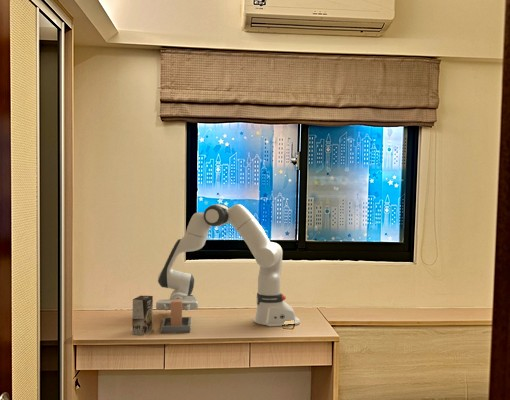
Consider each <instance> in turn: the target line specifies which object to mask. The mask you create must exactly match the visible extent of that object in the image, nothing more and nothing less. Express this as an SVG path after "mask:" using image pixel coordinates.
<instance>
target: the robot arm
mask: <svg viewBox="0 0 510 400" xmlns="http://www.w3.org/2000/svg"><path fill="white" fill-rule="evenodd" d="M228 223H229V224H230V225H231V226H232V227H233V228H234V230H235V231H236V232H237V233H238V234H239V236H240V237H241V239H242V240H243V241H244V242H245V244H246V245H247V247H248V249H249V250H250V253H251V254H252V255H253V257H254V259H255V262H256V263H257V265H258V266H259V270H258V277H257V293H256V312H255V317H254V320H253V322H254V323H255V324H258V325H262V326H267V327H281V326H282V325H283V324H284V322H285V321H289V320H294V321H295V322H294V324H295V325H294V326H296V325H299V324H300V321H301V320H300V319H299V318H298V317H297V316H296V313H295V310H294V308H293V307H292V306H291V305H290V304H289V303H287V302H286V301H285V300H286V298H287V297H286V296H285V294H283V293H281V275H282V266H283V265H282V264H283V254H284V253H283V252H284V251H283V248H282V247H281V245H280V244H279V243H277V242H273V241H271V240H270V239H269V238H268V235H267V234H266V231H265V230H264V228H263V227H262V226H261V224H260V223H259V222H258V220H257V219H256V218H255V217H254V215H253V214H252V213H251V212H250V211H249V210H248V209H247V208H246V207H245V206H243V205H242V204H240V203H238V204H234V205H232V206H231V207H229V206H228V205H226V204H221V203H220V204H219V203H216V204H215V203H214V204H211V205H210V206H207V208H205V210H204V211H203V212H195V213H193V215H192V216H191V218H190V220H189V222H188V223H187V224H188V225H187V227H186V232H185V234H184V235H183V236H182V237H181V238H179V239H177V240H176V242H174V246H173V247H172V248H171V251H170V253H169V255H168V257H167V259H166V261H165V264H164V266H163V267H162V269H161V271H160V272H159V274H158V275H157V276H158V277H157V283H158V285H160V287H161V288H166V289H171V290H173V291H172V292H171V294H170V297H169V299H158V300H157V301H156V303H155V309H156V310H158V311H171V300H175V299H182V311H190V310H194V311H195V310H198V309H199V300H198V298H197V297H196V295H194V294H193V295H192V293H193V290H194V286H195V277H194V276H193V274H191V273H187V272H185V271H180V270H176V269H173V266H174V265H175V262H176V260H177V257H178V256H179V255H180V254H182V253H187V252H195V251H199V250H201V249H203V247H204V246H205V245H206V241H207V238H208V235H209V232H210V231H209V230H210V229H211V227H221V226H224V225H226V224H227V225H228Z"/></svg>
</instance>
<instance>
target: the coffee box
mask: <svg viewBox="0 0 510 400" xmlns="http://www.w3.org/2000/svg"><path fill="white" fill-rule="evenodd" d="M153 299H154V296H153V295H139V296H136V297H135V298H133V299H132V321H131V322H132V331H131V334H132V335H137V336H139V335H140V336H146V335H147V334H148V333H150V332H152V331H153V328H154V327H153V324H154V323H153V322H154V321H153V319H154V318H153V316H154V315H153V314H154V313H153V305H154V304H153V301H154V300H153Z"/></svg>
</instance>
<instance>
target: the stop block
mask: <svg viewBox="0 0 510 400" xmlns="http://www.w3.org/2000/svg"><path fill="white" fill-rule="evenodd" d="M170 317H171V326H182V317H183V310H182V299H175V300H171V310H170Z"/></svg>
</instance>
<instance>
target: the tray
mask: <svg viewBox="0 0 510 400" xmlns="http://www.w3.org/2000/svg"><path fill="white" fill-rule="evenodd" d="M191 318H192V317H190V316H182V326H171V316H169V317H167V316H165V317H163V319H162V323H161V325H160V334H185V333H187V334H188V333H189V334H190V333H191V332H190V331H191V324H192V322H191Z"/></svg>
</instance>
